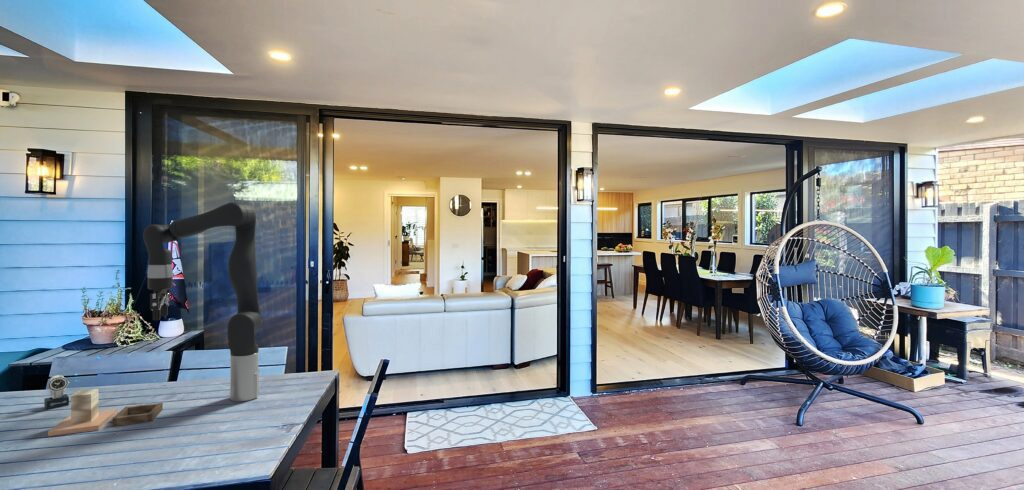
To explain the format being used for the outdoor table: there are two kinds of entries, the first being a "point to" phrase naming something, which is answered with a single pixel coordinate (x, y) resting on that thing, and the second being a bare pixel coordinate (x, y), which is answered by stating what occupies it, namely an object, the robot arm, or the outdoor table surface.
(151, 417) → the walnut pocket frame
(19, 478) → the outdoor table surface
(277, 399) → the outdoor table surface
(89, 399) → the ash block
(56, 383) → the watch
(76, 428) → the terracotta tile
